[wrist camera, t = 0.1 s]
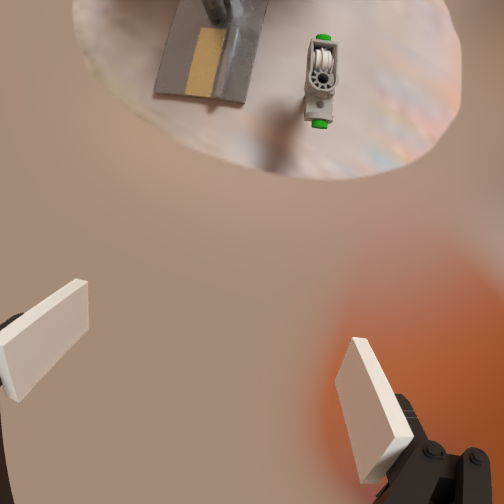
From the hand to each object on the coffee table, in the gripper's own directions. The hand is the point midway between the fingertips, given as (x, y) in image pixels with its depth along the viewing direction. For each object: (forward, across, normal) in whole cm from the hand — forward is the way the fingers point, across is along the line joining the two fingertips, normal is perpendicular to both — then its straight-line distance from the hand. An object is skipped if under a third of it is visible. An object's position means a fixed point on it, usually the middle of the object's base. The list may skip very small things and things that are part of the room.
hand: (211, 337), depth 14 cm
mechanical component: (+28, +5, +18) cm, 34 cm away
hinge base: (+28, -9, +26) cm, 39 cm away
